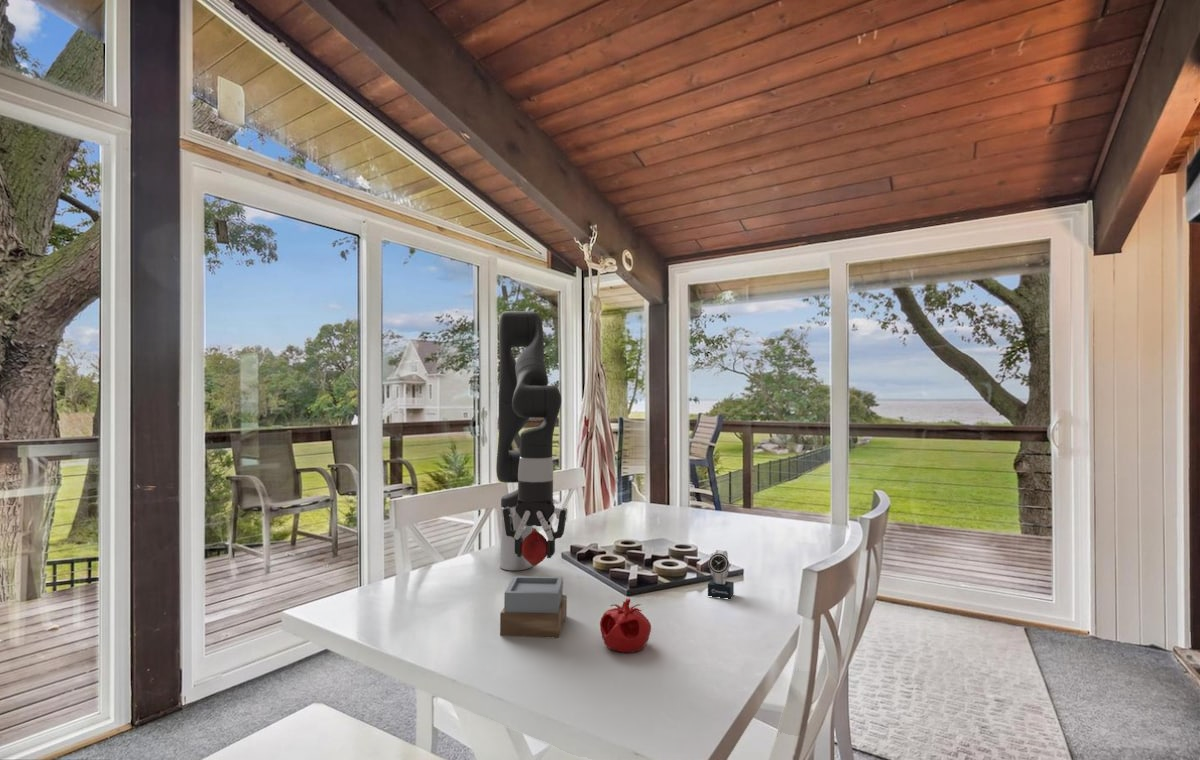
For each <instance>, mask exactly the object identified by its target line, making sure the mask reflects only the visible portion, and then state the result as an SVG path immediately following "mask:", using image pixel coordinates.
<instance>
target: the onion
mask: <svg viewBox="0 0 1200 760" xmlns="http://www.w3.org/2000/svg"><path fill="white" fill-rule="evenodd" d="M547 541H548V539H546V537H545V536H544V535H543V534H542V533H541V532H539V531H538V530H537V528H535V527H533V528H532V533H530V534H529V535H528V536H527V537H526V538H525V539H524V541H523V542H522V546H521V552H522V555H523V557H524V558H525V559H526V560H527V561H528V562H529V563H530V564H531V565H532V567H535V566H537V565H539V564H540V563H541V562H543V561H544V560H545V559H546V558H547Z"/></svg>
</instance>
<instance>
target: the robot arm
mask: <svg viewBox="0 0 1200 760" xmlns="http://www.w3.org/2000/svg"><path fill="white" fill-rule="evenodd" d="M544 342H545V340H544V327H543V320H542V317H541V316H540V314H539V313H538V312H536V311H523V310H522V311H521V310H519V311H517V310H516V311H515V310H514V311H513V310H510V311H509V310H505V311H503V312H501V313H500V315H499V319H498V347H499V349H498V350H499V351H498V352H499V383H498V385H499V388H498V390H499V391H498V443H497V455H496V465H495V466H496V468H495V469H496V478H497V480H498V481H499V482H500V483H508V484H509V483H515V484H516V483H517V489H516V490H515V491H513V492H510V493H507V494H504V495H503V496H502V497H501V499H500V543H499V544H500V550H499V552H500V553H499V556H500V558H499V567H500V568H501V569H502V570H506V571H514V572H515V571H524V570H528V569H530V568H532V567H533V566H532V565H531V564H530V563H529V562H528V561H527V560H526V559H525V558H524V557H523V555H522V552H521V546H522V542H523V541H524V539H525V538H526V537H527V536H528V535H529V534H530V533H532V528H534V526H535V527H542V529H543V532H544V533H545V535H546V537H547V556H546V559H551V558H552V556H554V554H555V553H556V540H557V539H561V538H562V537H563V535H564V533H565V527H566V521H567V514H568V508H565V507H564V508H559V507H556V506H555V504H554V463H553V462H554V461H553V441H554V439H553V438H554V431H555V427H556V422H557V419H558V416H559V413H560V410H561V405H562V394H561V392H560V391H559V389H558V388H557V387H556V386H554V385H549V379H548V377H549V376H548V372H547V369H546V364H545V356H544V355H545V345H544ZM513 348H524V350H522V352H520V354H519V355H518V357H517V359H516V360H515V357H514V355H513V352H512V349H513ZM532 418H533V419H542V418H543V421H542V422H541V424H540V425H538V426H537V427H532V428H528V429H524V430H523V431H521V430H522V429H523V428H524V426H526V423H528V421H529V419H532ZM520 431H521V432H520ZM519 432H520V435H519V449H518V450H516V449H515V450H510V448H511V446H512V444H513V442H514V439H515V438H516V437H517V435H518V434H519ZM553 514H555V516H556V519H558V523H557V530H556V531H554V528H553V525H552V522H551V520H550V518H551V517H552V516H553Z"/></svg>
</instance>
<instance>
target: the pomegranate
mask: <svg viewBox="0 0 1200 760" xmlns="http://www.w3.org/2000/svg"><path fill="white" fill-rule="evenodd" d="M630 603H631V598H625V601H622V606H620V605H618V604H616V603H615V604H612V605H610V607H614V606H615V608H610V609H608V610H606V611H605V612H604V613H603V614H602V616H601V618H600V622H599V627H600V633H601V638H602V640H603V644H604V645H605V646H606V647H607V648H609V649H610V650H612V651H618V652H621V653H634V652H639V651H641V650H643V649H644V647H645V645H646V643H648V641H649V639H650V635H651V630H652V625H651V622H650V620H649V619H648V618H647V617H646V616H645V615H644V613H642V611H643V609H639V608H638V607H639V606H641V605H642V603H638V604H635V605H633V606H630Z"/></svg>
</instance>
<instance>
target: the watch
mask: <svg viewBox="0 0 1200 760" xmlns="http://www.w3.org/2000/svg"><path fill="white" fill-rule="evenodd" d="M708 568H709V570H710V574H711V576H712V578H711V579H710V581H709V582H708V584H707V597H708V596H712V597H720V598H728V599H731V600H732V598H733V597H732V595H733V594H734V593H735V591H734V582H733V581H728V580H727V579H728V575H729V572H728V571H729V568H732V564H731V563H729V555H728V551H727V550H719V549H718V550H717V549H716V551H714V552H713V553H712V555H711V556H710V558H709V560H708ZM733 596H734V595H733ZM731 597H732V598H731Z"/></svg>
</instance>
